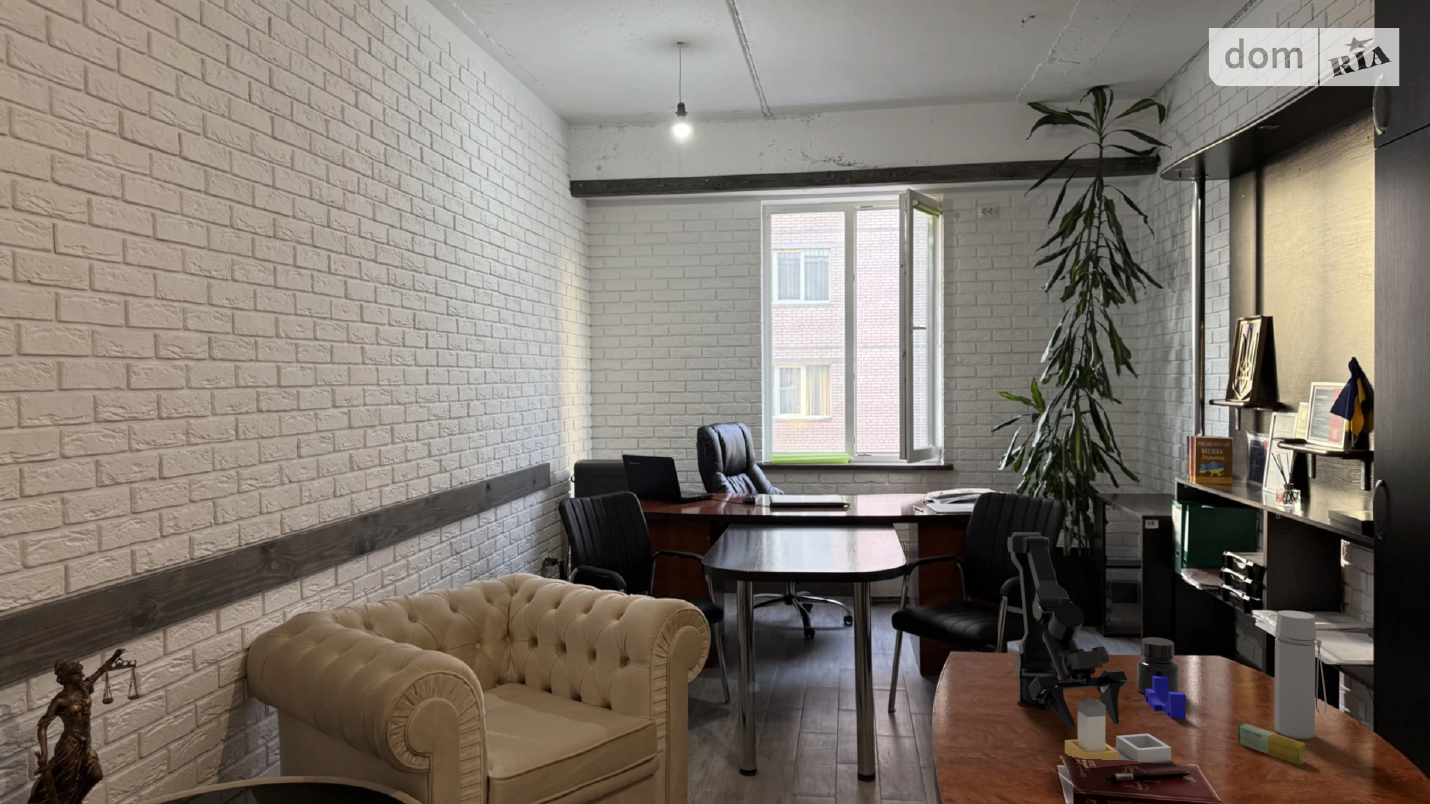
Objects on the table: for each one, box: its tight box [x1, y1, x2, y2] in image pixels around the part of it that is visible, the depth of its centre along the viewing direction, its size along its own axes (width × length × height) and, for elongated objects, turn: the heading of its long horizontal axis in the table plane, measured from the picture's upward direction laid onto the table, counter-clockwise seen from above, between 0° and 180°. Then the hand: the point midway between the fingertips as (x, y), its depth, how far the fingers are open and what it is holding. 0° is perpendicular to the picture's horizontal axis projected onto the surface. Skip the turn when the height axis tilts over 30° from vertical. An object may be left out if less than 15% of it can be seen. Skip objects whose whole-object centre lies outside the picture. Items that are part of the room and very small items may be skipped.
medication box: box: [1237, 722, 1307, 765], centre depth 179 cm, size 12×3×4 cm, turn 29°
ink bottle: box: [1136, 636, 1180, 695], centre depth 213 cm, size 10×9×12 cm
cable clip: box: [1144, 676, 1187, 720], centre depth 201 cm, size 12×4×6 cm, turn 172°
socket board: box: [1063, 733, 1174, 764], centre depth 176 cm, size 18×8×3 cm, turn 99°
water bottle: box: [1274, 610, 1327, 740], centre depth 187 cm, size 9×8×25 cm
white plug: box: [1076, 698, 1107, 753], centre depth 175 cm, size 4×4×11 cm
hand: (1095, 725), depth 174 cm, fingers open, 9 cm apart
